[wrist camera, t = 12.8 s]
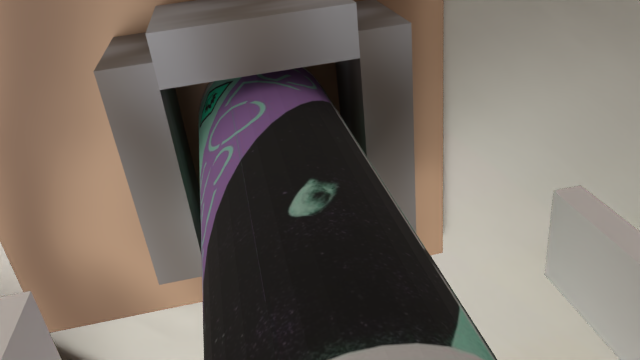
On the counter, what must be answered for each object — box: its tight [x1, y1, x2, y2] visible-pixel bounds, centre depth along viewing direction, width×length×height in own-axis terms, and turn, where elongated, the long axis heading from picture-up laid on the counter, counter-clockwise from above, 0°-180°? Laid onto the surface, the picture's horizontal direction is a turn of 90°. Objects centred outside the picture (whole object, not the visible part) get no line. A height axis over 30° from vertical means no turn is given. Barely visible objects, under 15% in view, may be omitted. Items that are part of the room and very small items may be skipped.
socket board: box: [0, 0, 443, 333], centre depth 23 cm, size 20×16×6 cm
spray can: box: [199, 67, 497, 360], centre depth 15 cm, size 6×6×20 cm
